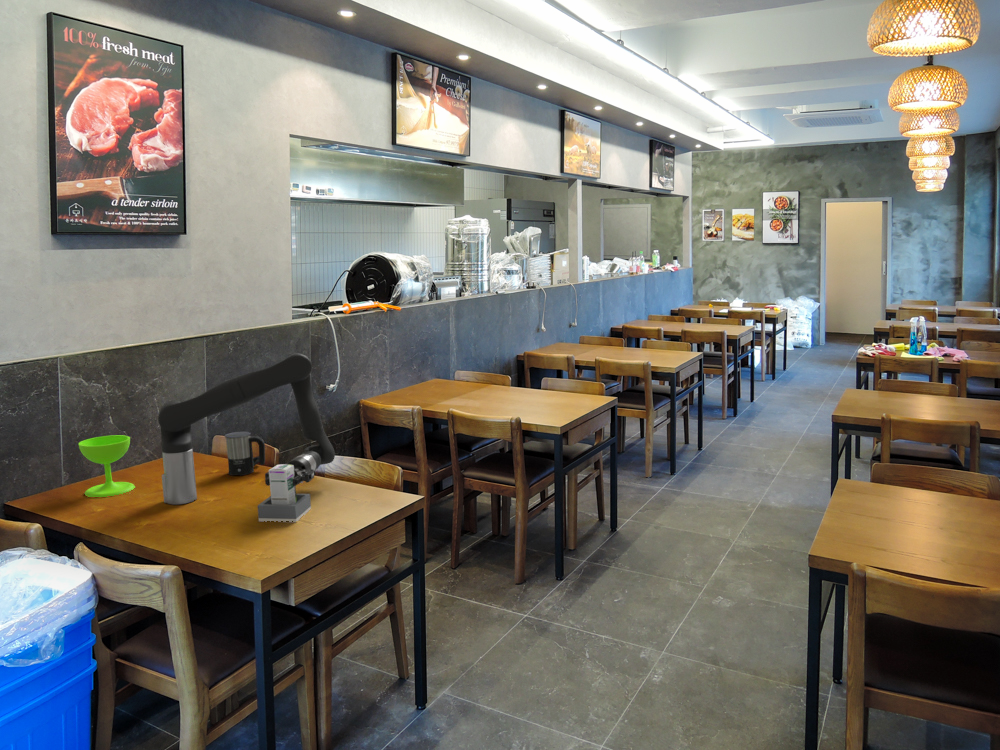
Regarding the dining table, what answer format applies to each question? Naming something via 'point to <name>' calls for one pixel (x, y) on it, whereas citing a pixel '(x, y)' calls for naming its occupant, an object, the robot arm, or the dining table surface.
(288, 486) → the syrup box
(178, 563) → the dining table surface
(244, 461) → the milk frother
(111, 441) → the wineglass
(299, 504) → the socket box
